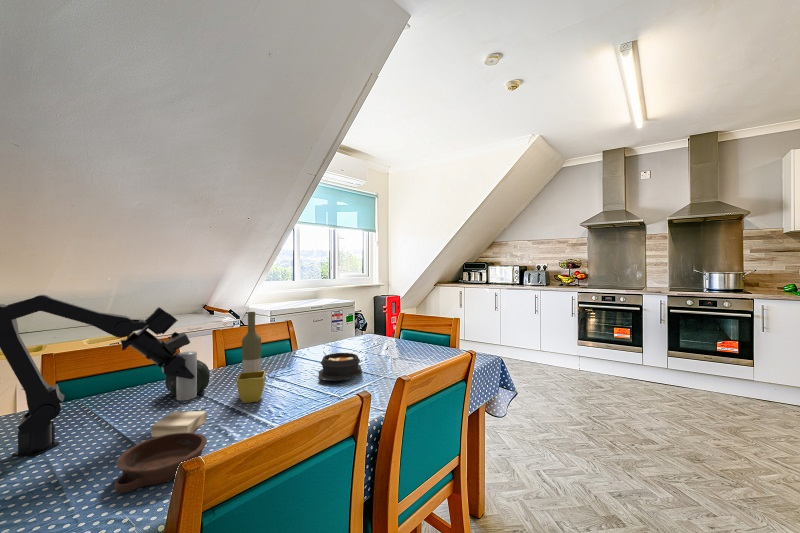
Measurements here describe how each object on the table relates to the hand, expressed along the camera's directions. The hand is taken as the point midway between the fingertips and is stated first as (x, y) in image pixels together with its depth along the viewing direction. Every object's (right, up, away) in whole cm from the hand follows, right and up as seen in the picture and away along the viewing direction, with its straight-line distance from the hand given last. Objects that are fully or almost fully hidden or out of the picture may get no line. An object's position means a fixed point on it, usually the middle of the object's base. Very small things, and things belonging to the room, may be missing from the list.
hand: (191, 375), depth 117 cm
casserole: (+42, -12, +39) cm, 59 cm away
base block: (+3, -12, -11) cm, 17 cm away
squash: (-12, -12, +19) cm, 26 cm away
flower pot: (+15, -12, +11) cm, 22 cm away
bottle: (+11, -12, +21) cm, 27 cm away
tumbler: (-1, -7, -1) cm, 7 cm away
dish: (+12, -13, -32) cm, 36 cm away
